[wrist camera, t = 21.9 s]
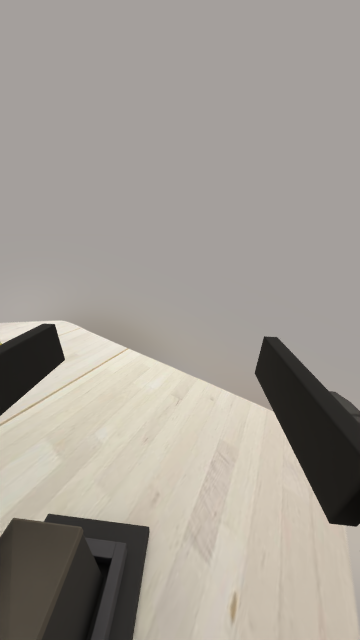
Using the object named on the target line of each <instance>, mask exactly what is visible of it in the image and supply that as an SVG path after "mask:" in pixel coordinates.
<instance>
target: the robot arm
mask: <svg viewBox="0 0 360 640" xmlns="http://www.w3.org/2000/svg"><path fill="white" fill-rule="evenodd" d="M64 360H65V358H64V354H63V351H62V348H61V344H60V341H59V337H58V334H57V330H56V327H55V324H42V325H40V326H38V327H35V328H33V329H31V330H29V331H27V332H25V333H23V334H21V335H19V336H17V337H15V338H13V339H11V340H9V341H7V342H5V343H3V344H1V345H0V416H1V415H2V414H3V413H4V412H5V411H6V410H8V409H9V408H10V407H11V406H12V405H13V404H14V403H16V402H17V401H18V400H19V399H20V398H21V397H23V396H24V395H25V394H26V393H27V392H28V391H29V390H31V389H32V388H33V387H34V386H35V385H36V384H38V383H39V382H40V381H41V380H42V379H43V378H45V377H46V376H47V375H48V374H49V373H50V372H51V371H53V370H54V369H55V368H56V367H57V366H58V365H60V364H61V363H62V362H63V361H64ZM255 375H256V377H257V379H258V381H259V383H260V385H261V387H262V389H263V391H264V393H265V395H266V397H267V399H268V401H269V403H270V405H271V407H272V409H273V411H274V413H275V415H276V417H277V419H278V421H279V423H280V425H281V427H282V429H283V431H284V433H285V435H286V437H287V439H288V441H289V443H290V445H291V447H292V449H293V451H294V453H295V455H296V457H297V459H298V461H299V463H300V465H301V467H302V469H303V471H304V473H305V475H306V477H307V479H308V481H309V483H310V485H311V487H312V489H313V491H314V493H315V495H316V497H317V499H318V501H319V503H320V505H321V507H322V509H323V511H324V513H325V515H326V517H327V519H328V521H329V523H330V524H338V525H347V526H358V525H359V524H360V411H359V410H358V409H357V408H356V407H355V406H354V405H353V404H352V403H351V402H349V401H348V400H346V399H345V398H343V397H342V396H340V395H339V394H338V393H336V392H330V391H328V390H327V389H326V388H325V387H324V386H323V385H322V384H321V383H320V382H319V381H318V379H317V378H315V376H314V375H313V374H312V373H311V372H310V371H309V370H308V369H307V368H306V367H305V366H304V365H303V364H302V363H301V362H300V361H299V360H298V359H297V358H296V356H295V355H294V354H293V353H292V352H291V351H290V350H289V349H288V348H287V347H286V346H285V345H284V344H283V343H282V342H281V341H280V340H279V339H278V338H277V337H264V339H263V343H262V347H261V351H260V354H259V359H258V362H257V366H256V370H255Z"/></svg>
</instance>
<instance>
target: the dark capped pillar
mask: <svg viewBox="0 0 360 640" xmlns="http://www.w3.org/2000/svg"><path fill="white" fill-rule="evenodd" d="M102 582H103V576H102V574H101V572H100V570H99V568H98V565H97V563H96V561H95V559H94V557H93V554H92V552H91V550H90V548H89V546H88V543H87V541H86V539H85V537H84V534H83V529H82V527H78V526H71V525H63V524H56V523H48V522H41V521H33V520H26V519H18V518H13V519H12V520H11V522H10V523H9V525H8V526H7V528H6V529H5V531H4V532H3V534H2V535H1V537H0V640H87V636H88V633H89V629H90V626H91V622H92V618H93V615H94V611H95V607H96V604H97V600H98V596H99V593H100V589H101V585H102Z"/></svg>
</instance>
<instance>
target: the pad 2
mask: <svg viewBox="0 0 360 640" xmlns="http://www.w3.org/2000/svg"><path fill="white" fill-rule="evenodd" d="M44 522H48V523H56V524H63V525H71V526H78V527H82V529H83V534H84V537H85V539H86V541H87V543H88V546H89V548H90V550H91V552H92V554H93V557H94V559H95V561H96V563H97V565H98V568H99V570H100V572H101V574H102V576H103V582H102V585H101V589H100V593H99V596H98V600H97V604H96V607H95V611H94V615H93V618H92V622H91V626H90V629H89V633H88V636H87V640H132V639H133V633H134V626H135V620H136V613H137V607H138V601H139V594H140V588H141V582H142V575H143V569H144V562H145V556H146V550H147V543H148V537H149V527H146V526H138V525H131V524H123V523H115V522H108V521H100V520H92V519H84V518H77V517H69V516H61V515H54V514H48V515H47V517H46V519H45V521H44Z"/></svg>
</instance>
